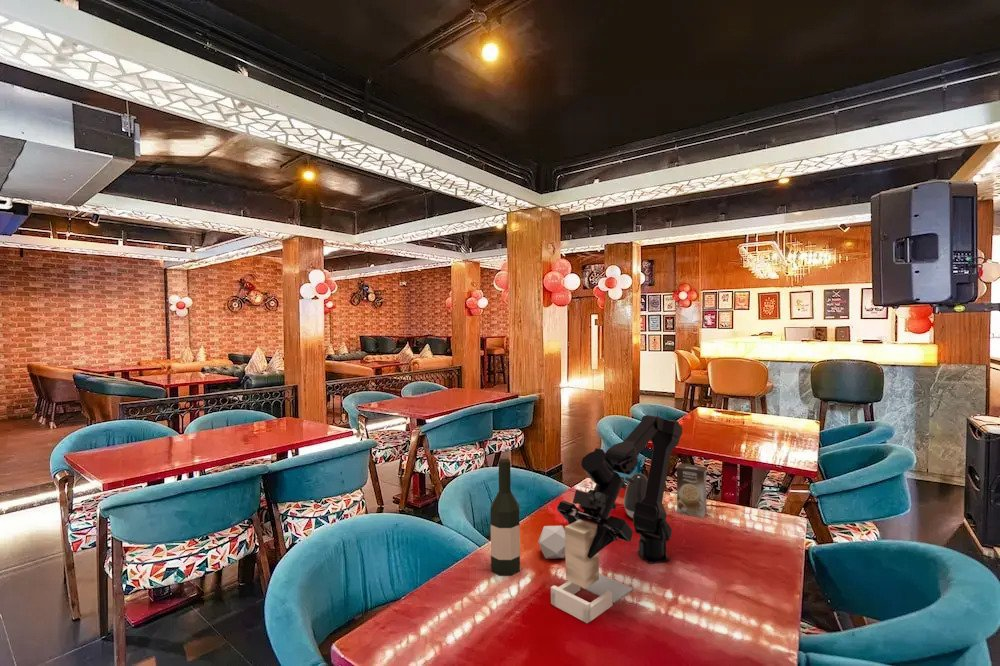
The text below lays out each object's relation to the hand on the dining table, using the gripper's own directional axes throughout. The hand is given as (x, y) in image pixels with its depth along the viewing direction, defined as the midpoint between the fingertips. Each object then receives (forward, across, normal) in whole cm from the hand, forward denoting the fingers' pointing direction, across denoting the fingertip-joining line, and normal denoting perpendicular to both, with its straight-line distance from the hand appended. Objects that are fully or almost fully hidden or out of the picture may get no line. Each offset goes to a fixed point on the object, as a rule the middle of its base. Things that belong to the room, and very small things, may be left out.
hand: (578, 553), depth 110 cm
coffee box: (-43, -7, +62) cm, 76 cm away
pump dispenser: (-31, -18, +50) cm, 61 cm away
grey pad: (+1, 0, +17) cm, 17 cm away
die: (-2, -20, +20) cm, 28 cm away
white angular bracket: (+8, 0, +9) cm, 12 cm away
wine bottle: (+9, -25, +9) cm, 28 cm away
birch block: (+4, 0, +6) cm, 7 cm away
